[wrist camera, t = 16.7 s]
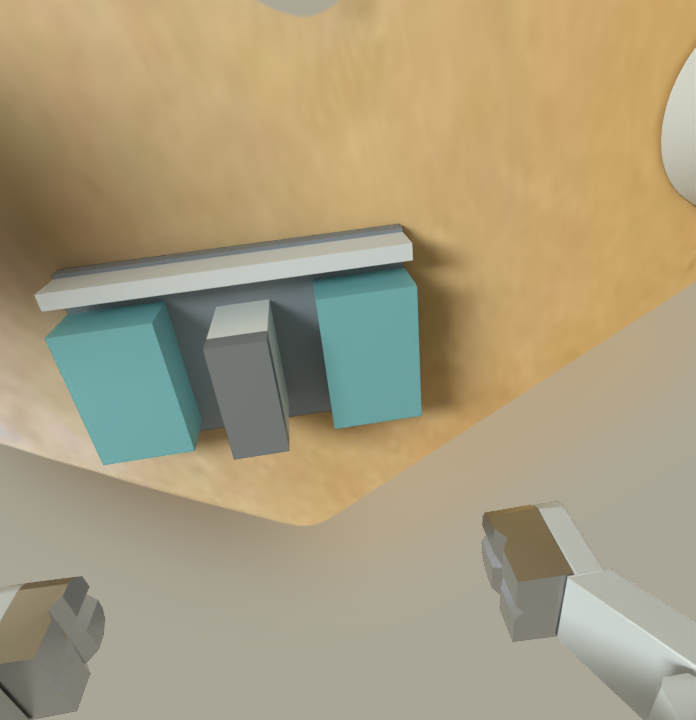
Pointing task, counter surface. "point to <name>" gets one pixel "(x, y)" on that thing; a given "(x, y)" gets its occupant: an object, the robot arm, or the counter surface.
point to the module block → (248, 378)
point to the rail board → (193, 320)
